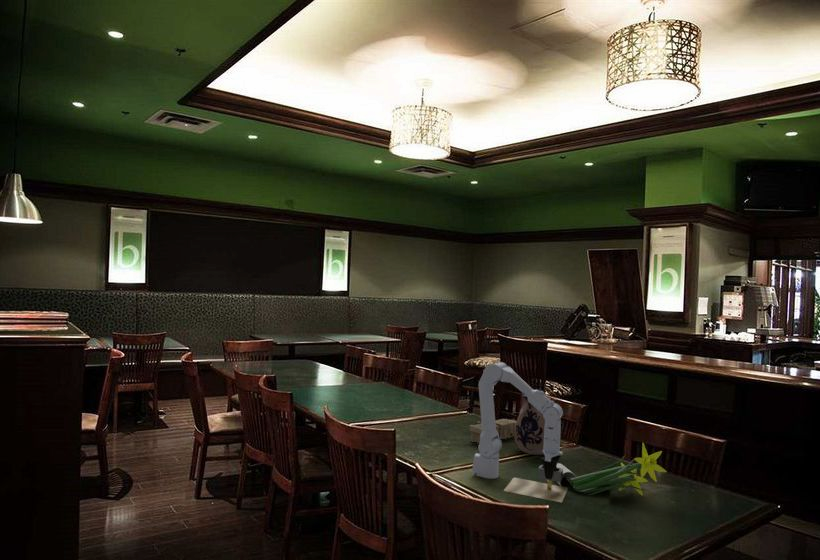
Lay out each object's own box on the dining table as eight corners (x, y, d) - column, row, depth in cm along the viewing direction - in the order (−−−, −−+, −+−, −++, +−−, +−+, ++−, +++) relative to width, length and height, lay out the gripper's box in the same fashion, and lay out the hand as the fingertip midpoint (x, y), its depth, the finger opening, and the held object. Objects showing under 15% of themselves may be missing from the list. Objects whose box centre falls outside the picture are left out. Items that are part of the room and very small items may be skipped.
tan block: (504, 435, 281) (467, 442, 260) (505, 418, 281) (469, 423, 261) (517, 438, 275) (481, 446, 255) (518, 421, 275) (482, 427, 255)
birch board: (503, 494, 194) (503, 490, 195) (513, 481, 209) (513, 477, 209) (561, 507, 186) (561, 502, 186) (568, 492, 201) (568, 487, 201)
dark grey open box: (537, 478, 198) (538, 468, 198) (540, 474, 203) (540, 464, 203) (560, 482, 195) (561, 472, 195) (562, 478, 200) (563, 468, 200)
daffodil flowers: (561, 486, 209) (644, 462, 215) (580, 520, 197) (668, 494, 203) (564, 457, 200) (651, 433, 205) (584, 491, 188) (676, 464, 193)
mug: (545, 474, 214) (555, 484, 202) (554, 459, 215) (565, 468, 203) (567, 487, 214) (578, 498, 202) (576, 472, 215) (588, 482, 203)
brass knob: (546, 489, 199) (546, 478, 199) (547, 487, 200) (547, 477, 200) (551, 490, 198) (551, 479, 198) (552, 488, 199) (552, 478, 199)
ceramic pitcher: (508, 453, 246) (511, 396, 246) (521, 442, 264) (524, 390, 264) (547, 460, 237) (550, 402, 238) (558, 449, 256) (561, 395, 256)
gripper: (560, 445, 191) (558, 484, 191) (566, 435, 204) (564, 472, 204) (539, 441, 194) (537, 480, 194) (546, 432, 207) (544, 469, 207)
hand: (550, 476), depth 199 cm, fingers closed on dark grey open box, 5 cm apart
